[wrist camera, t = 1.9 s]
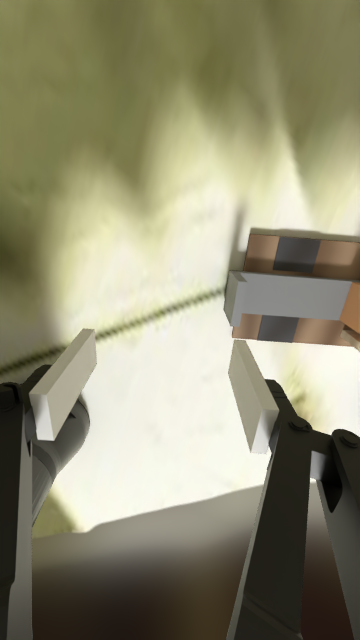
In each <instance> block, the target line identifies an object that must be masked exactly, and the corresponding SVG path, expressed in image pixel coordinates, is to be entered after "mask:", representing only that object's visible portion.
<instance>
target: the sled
mask: <svg viewBox="0 0 360 640" xmlns="http://www.w3.org/2000/svg"><path fill="white" fill-rule="evenodd" d="M224 312H225V314H226V316H227V319H228V321H229V324H230V326H234V327H239V326H240V321H241V315H242V313H245V314H259V315H272V316H286V317H299V318H312V319H326V320H339V321H342V322H343V323H344V324H346V325H347V326H349V327H350V328H352V329H353V330H355V331H356V332H357V333H359V334H360V280H347V279H334V278H322V277H309V276H296V275H283V274H270V273H257V272H244V271H232V270H229V277H228V283H227V290H226V296H225V303H224Z"/></svg>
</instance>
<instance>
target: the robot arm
mask: <svg viewBox="0 0 360 640" xmlns="http://www.w3.org/2000/svg"><path fill="white" fill-rule="evenodd" d="M96 364H97V361H96V345H95V329H82V331H81V332H80V333H79V334H78V335H77V337H76V338H75V339H74V340H73V341H72V343H71V344H70V345H69V346H68V347H67V349H66V350H65V351H64V352H63V353H62V354H61V356H60V357H59V358H58V359H57V360H56V362H55V363H54V364H53V365H43V366H41V367H40V368H38V369H36V370H35V371H34V372H33V373H32V375H31V376H30V377H29V378H28V379H27V380H26V382H24V383H23V384H20V385H19V384H17V383H13V382H8V383H2V384H0V640H33V636H32V527H33V525H34V523H35V521H36V519H37V516H38V514H39V512H40V510H41V508H42V506H43V503H44V501H45V499H46V497H47V495H48V492H49V490H50V488H51V486H52V484H53V482H54V479H55V477H56V476H57V474H58V473H59V472H60V471H61V470H62V469H63V468H64V466H65V465H66V464H67V463H68V462H69V461H70V460H71V459H72V457H73V456H74V455H75V454H76V453H77V452H78V451H79V450H80V448H81V447H82V445H83V443H84V441H85V439H86V436H87V434H88V431H89V418H88V414H87V412H86V410H85V409H84V407H83V406H82V404H81V403H80V402H79V401H78V400H77V398H78V397H79V395H80V393H81V391H82V389H83V388H84V386H85V384H86V382H87V380H88V379H89V377H90V375H91V373H92V372H93V370H94V368H95V366H96ZM228 374H229V378H230V381H231V385H232V389H233V392H234V396H235V399H236V403H237V406H238V410H239V413H240V417H241V420H242V424H243V427H244V431H245V435H246V438H247V442H248V445H249V449H250V452H251V453H259V454H266V453H267V450H268V446H269V447H270V450H271V452H272V454H271V458H270V461H269V464H268V467H267V474H266V478H265V482H264V486H263V491H262V495H261V499H260V503H259V507H258V511H257V515H256V519H255V523H254V528H253V532H252V536H251V540H250V544H249V548H248V552H247V556H246V561H245V565H244V569H243V573H242V577H241V581H240V585H239V589H238V594H237V598H236V602H235V607H234V610H233V615H232V618H231V623H230V627H229V631H228V635H227V639H226V640H303V638H302V636H301V634H300V618H301V602H302V588H303V574H304V559H305V544H306V530H307V514H308V500H309V484H310V477H311V478H314V479H316V482H317V486H318V490H319V494H320V499H321V503H322V507H323V511H324V515H325V519H326V523H327V527H328V532H329V536H330V540H331V544H332V548H333V552H334V556H335V560H336V565H337V569H338V573H339V577H340V581H341V585H342V589H343V593H344V597H345V601H346V606H347V610H348V614H349V617H350V622H351V626H352V631H353V635H354V639H355V640H360V437H358V436H357V435H356V434H354V433H352V432H350V431H347V430H344V429H337V430H334V431H333V433H332V435H328V434H325V433H321V432H318V431H315V430H313V429H312V427H311V425H310V424H309V423H308V422H307V421H306V420H305V419H303V418H301V417H299V416H297V414H296V412H295V410H294V409H293V407H292V405H291V403H290V401H289V400H288V399H287V396H286V394H285V393H284V391H283V389H282V387H281V386H280V385H279V384H278V383H277V382H276V381H275V380H269V379H264V378H263V376H262V374H261V372H260V370H259V367H258V365H257V363H256V361H255V359H254V357H253V355H252V353H251V351H250V349H249V347H248V345H247V343H246V341H245V340H234V344H233V349H232V355H231V360H230V366H229V371H228Z"/></svg>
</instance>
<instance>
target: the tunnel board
mask: <svg viewBox="0 0 360 640" xmlns="http://www.w3.org/2000/svg"><path fill="white" fill-rule="evenodd" d="M243 271H244V272H257V273H270V274H283V275H296V276H309V277H322V278H334V279H347V280H360V243H356V242H344V241H332V240H319V239H307V238H295V237H282V236H270V235H258V234H250V235H249V241H248V246H247V252H246V258H245V264H244V269H243ZM232 338H239V339H253V340H260V341H274V342H288V343H292V342H295V343H309V344H323V345H337V346H351V347H354V348H356V349H357V350H358V351H359V352H360V334H359V333H357V332H356V331H355V330H353V329H352V328H350V327H349V326H347V325H346V324H344V323H343V322H342V321H339V320H326V319H312V318H299V317H286V316H272V315H259V314H245V313H242V315H241V321H240V326H239V327H234V326H233V332H232Z"/></svg>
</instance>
